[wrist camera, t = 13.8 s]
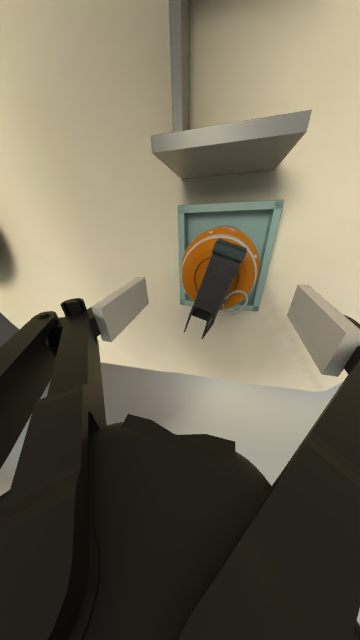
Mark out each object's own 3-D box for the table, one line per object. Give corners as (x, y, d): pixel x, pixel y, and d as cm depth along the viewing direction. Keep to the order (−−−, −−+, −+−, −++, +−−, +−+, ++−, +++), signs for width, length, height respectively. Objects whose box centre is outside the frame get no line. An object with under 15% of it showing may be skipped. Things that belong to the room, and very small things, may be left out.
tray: (182, 207, 29) (177, 205, 26) (278, 201, 25) (284, 199, 23) (183, 298, 37) (180, 304, 35) (255, 304, 34) (257, 311, 31)
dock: (178, -29, 18) (112, -340, 8) (324, -87, 15) (517, -718, 5) (181, 178, 27) (152, 152, 17) (274, 169, 24) (306, 131, 14)
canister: (259, 235, 27) (303, 256, 11) (230, 294, 33) (229, 366, 17) (208, 218, 28) (174, 212, 11) (188, 279, 34) (148, 333, 17)
